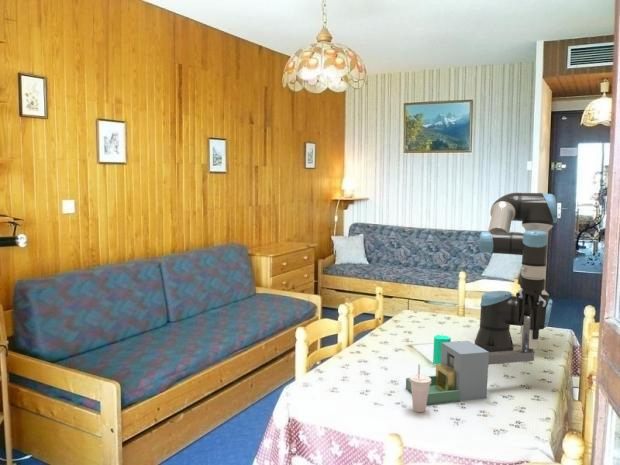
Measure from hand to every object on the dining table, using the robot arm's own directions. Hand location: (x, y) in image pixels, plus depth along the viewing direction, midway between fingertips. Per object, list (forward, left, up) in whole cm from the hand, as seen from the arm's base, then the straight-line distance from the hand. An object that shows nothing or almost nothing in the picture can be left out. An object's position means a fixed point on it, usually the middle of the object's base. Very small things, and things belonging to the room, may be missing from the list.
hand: (528, 346), depth 183 cm
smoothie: (+44, +9, -14) cm, 47 cm away
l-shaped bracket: (+14, 0, -5) cm, 14 cm away
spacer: (+31, 0, -9) cm, 32 cm away
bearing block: (+24, 0, -14) cm, 28 cm away
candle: (+18, -25, -14) cm, 34 cm away
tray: (+35, 0, -14) cm, 38 cm away
